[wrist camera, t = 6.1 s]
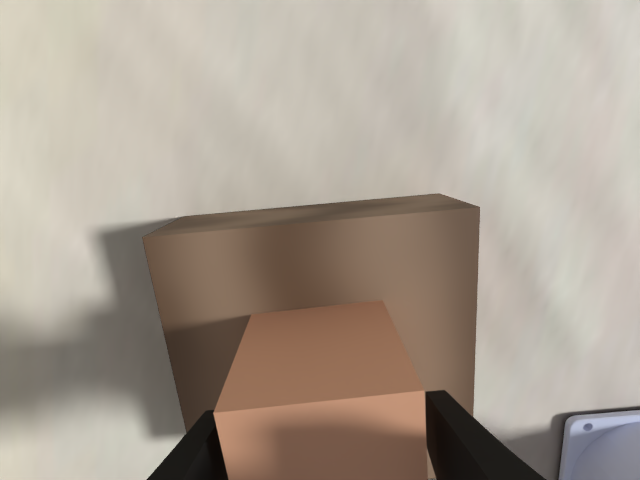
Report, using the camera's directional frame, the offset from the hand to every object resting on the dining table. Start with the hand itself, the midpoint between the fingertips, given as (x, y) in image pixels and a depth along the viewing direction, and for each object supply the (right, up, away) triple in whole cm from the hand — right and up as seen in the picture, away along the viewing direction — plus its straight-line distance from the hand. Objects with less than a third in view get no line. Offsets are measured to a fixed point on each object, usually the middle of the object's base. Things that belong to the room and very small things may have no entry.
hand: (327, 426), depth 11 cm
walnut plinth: (0, +2, +7) cm, 7 cm away
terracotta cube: (0, +1, +3) cm, 3 cm away
